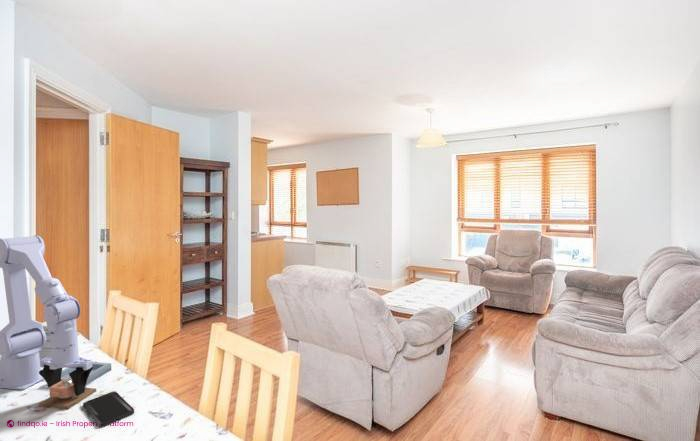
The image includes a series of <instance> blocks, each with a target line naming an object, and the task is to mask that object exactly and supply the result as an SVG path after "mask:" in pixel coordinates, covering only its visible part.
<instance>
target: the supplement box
mask: <svg viewBox="0 0 700 441" xmlns="http://www.w3.org/2000/svg"><path fill="white" fill-rule="evenodd" d="M41 323H42V326H43V330H44V332H45V334H46V342H45V344H44V346H42V347H41V348H42V350H40V351H39V358H40V360H41V359H44V358H46V357H52V351H51V336H50V331H48V329H47V323H46V321H43V322H41Z"/></svg>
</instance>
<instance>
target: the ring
mask: <svg viewBox="0 0 700 441" xmlns="http://www.w3.org/2000/svg"><path fill="white" fill-rule="evenodd" d="M67 378H69V377H67ZM67 378H66V379H67ZM64 380H65V379H64ZM62 381H63V380H62ZM48 389H49V397H63V398H68V397H70V396H72V395H73V394H75V391H74V384H73V381H72V384H71V385H69V386H67V387H65V386H63V384H62V382H61V381H60V382H58V383H56V384H55V385H53V386H51V387H49V386H48Z"/></svg>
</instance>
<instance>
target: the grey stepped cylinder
mask: <svg viewBox="0 0 700 441" xmlns="http://www.w3.org/2000/svg"><path fill="white" fill-rule="evenodd" d="M61 382H62V384H63V386H65V387H67V386H69V385H71V384H72V379H71V377H69V378H67V379H65V380H63V381H61ZM75 396H76V395H75V394H73V395H72V396H70V397H68V398H63V397H58V400H68V399H71V398H73V397H75Z"/></svg>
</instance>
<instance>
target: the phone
mask: <svg viewBox="0 0 700 441" xmlns="http://www.w3.org/2000/svg"><path fill="white" fill-rule="evenodd" d="M82 404H83V405H82V406H83V408H84V410H85V412H86V413H88V415H89V416H90V417H91V418H92V419H93V421H94V422H95V423H96V424H97V426H98V427H99V428H103V427H107V426H109V425H111V424H114V423H116V422H119V421H121V420H123V419H126V418H129V417H130V416H133V415H134V414H135V409H134V408H133V406H132V405H130V404H129V403H128V401H126V400H125V399H124V398H123V397H122V396H121V395H120V394H119V393H118V392H117V391H112V392H108V393H105V394H102V395H100V396H96V397H94V398H92V399H88V400H85V402H83V403H82Z"/></svg>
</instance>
